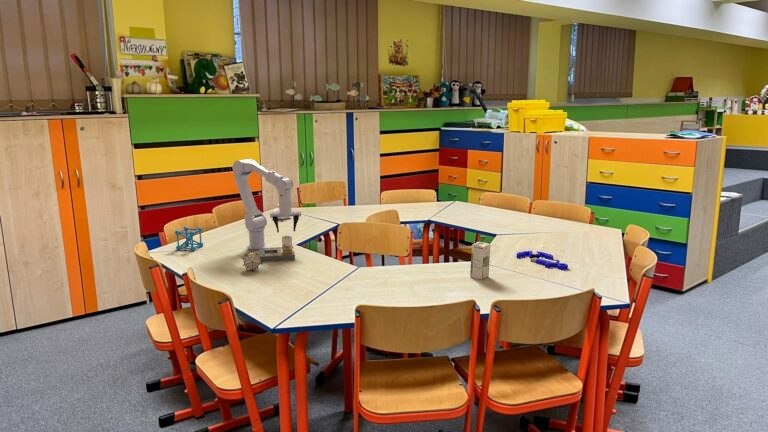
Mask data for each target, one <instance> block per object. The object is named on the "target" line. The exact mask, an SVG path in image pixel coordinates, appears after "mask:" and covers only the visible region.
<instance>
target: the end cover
mask: <svg viewBox="0 0 768 432" xmlns="http://www.w3.org/2000/svg"><path fill="white" fill-rule="evenodd" d="M281 243H282V244H281V245H282V246H281V247H282V250H283V251H284V252H290V251H292V247H293V237H292V235H283V236H281Z"/></svg>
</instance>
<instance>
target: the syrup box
mask: <svg viewBox="0 0 768 432" xmlns="http://www.w3.org/2000/svg"><path fill="white" fill-rule="evenodd" d="M470 256H471V257H470V273H469V275H470V276H469V277H470V278H472V279H476V280H485V279H486V278H488V277H489V274H490V273H489V272H490V261H491V260H490V259H491V258H490V257H491V243H488V242H483V241H476V243H475V242H474V243H473V244H472V245H471V255H470Z"/></svg>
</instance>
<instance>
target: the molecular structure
mask: <svg viewBox="0 0 768 432" xmlns="http://www.w3.org/2000/svg"><path fill="white" fill-rule="evenodd" d="M202 232H203V228H202V227H198V228H191V227H190V228H189V227H188V226H184V227H182V229H180V230H179V229H177V230H175V231H174V234H175V235H176V242H177V243H176V244H177V245H176V246H175V249H176V250H177V251H181V249H182V250H190V251H191V252H194V251H195V250H196V248H199V247H200V248H202V247H203V246H204V243H203V242H202ZM197 234H199V242H198V241H197V240H194V236H196V235H197ZM179 235H180V236H181V237H183V238H185V241H184V242H183V243H181V244H180V240H179V239H180V237H179ZM189 245H190V247H189ZM185 246H186V247H185Z"/></svg>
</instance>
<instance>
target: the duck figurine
mask: <svg viewBox="0 0 768 432" xmlns="http://www.w3.org/2000/svg"><path fill="white" fill-rule="evenodd" d="M276 205H277V206H278V207H279V203H277V204H276ZM276 212H279V209H275V210H273V211H272V212H271V213H276ZM288 218H290V217H278V220H285V219H288Z"/></svg>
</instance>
